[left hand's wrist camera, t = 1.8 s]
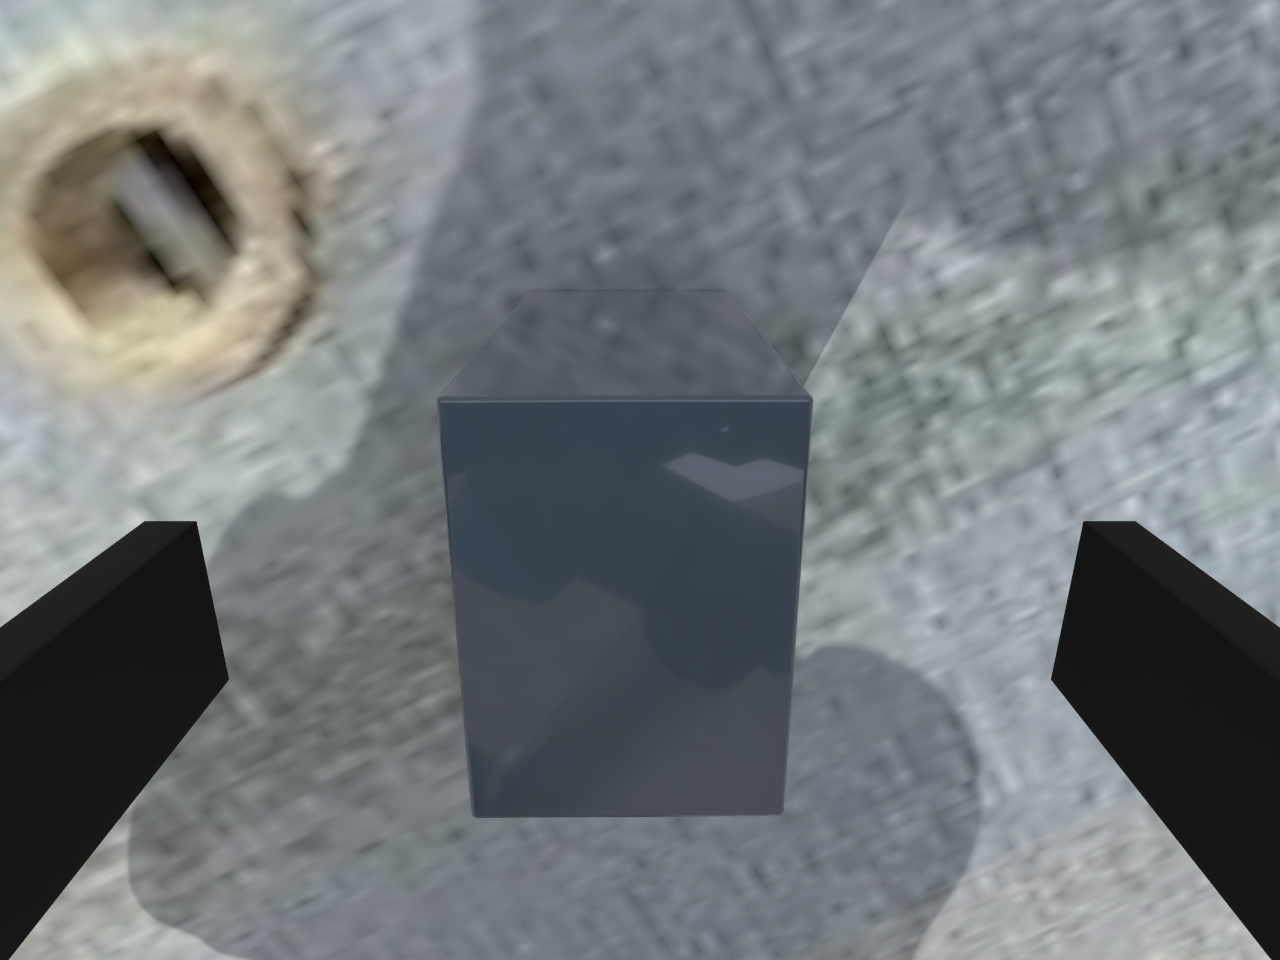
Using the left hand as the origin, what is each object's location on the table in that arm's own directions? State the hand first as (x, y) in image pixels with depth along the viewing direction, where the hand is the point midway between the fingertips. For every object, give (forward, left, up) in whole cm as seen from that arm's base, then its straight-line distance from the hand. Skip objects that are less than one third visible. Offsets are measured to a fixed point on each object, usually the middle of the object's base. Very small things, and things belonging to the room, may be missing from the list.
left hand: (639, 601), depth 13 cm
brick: (0, 0, -11) cm, 11 cm away
